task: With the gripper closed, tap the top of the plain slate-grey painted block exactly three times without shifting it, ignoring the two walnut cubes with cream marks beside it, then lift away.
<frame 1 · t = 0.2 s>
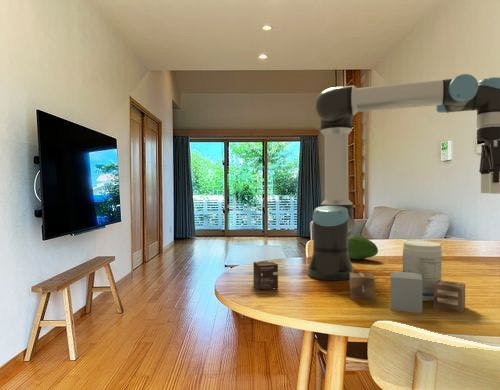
hand: (489, 193, 119), 28 cm above the table, fingers open, 13 cm apart
marked cube left: (361, 297, 100), on the table
fruit: (359, 260, 153), on the table
supplement tub: (421, 297, 100), on the table
plain block: (405, 307, 91), on the table
marked cube right: (449, 308, 90), on the table
box: (265, 288, 110), on the table
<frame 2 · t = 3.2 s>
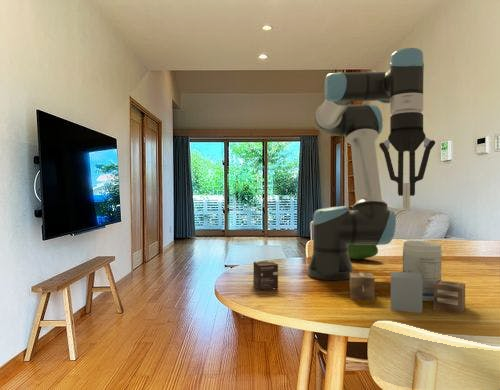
hand: (406, 209, 91), 24 cm above the table, fingers closed
nothing on the table moved.
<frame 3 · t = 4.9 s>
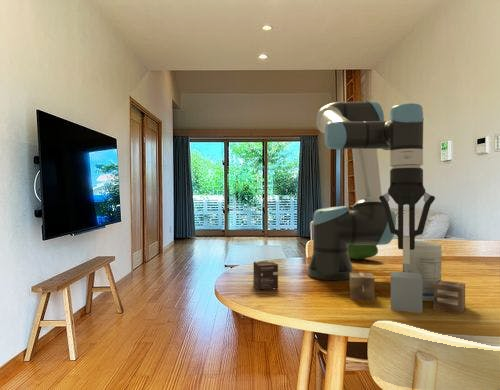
hand: (406, 262, 91), 11 cm above the table, fingers closed
nothing on the table moved.
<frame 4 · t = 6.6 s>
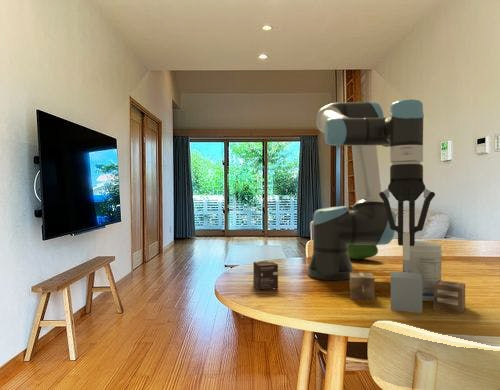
hand: (406, 258, 91), 12 cm above the table, fingers closed
nothing on the table moved.
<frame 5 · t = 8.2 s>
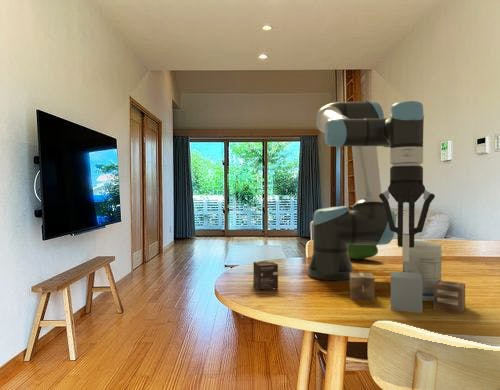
hand: (405, 260, 91), 12 cm above the table, fingers closed
nothing on the table moved.
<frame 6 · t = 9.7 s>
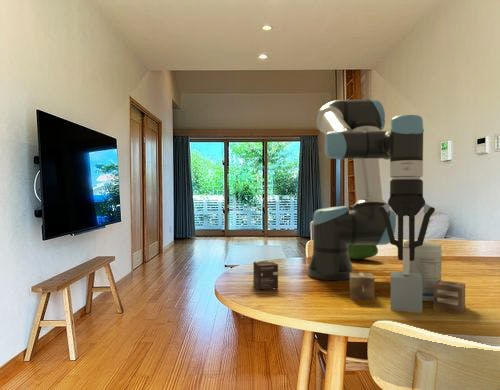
hand: (405, 273, 91), 8 cm above the table, fingers closed
nothing on the table moved.
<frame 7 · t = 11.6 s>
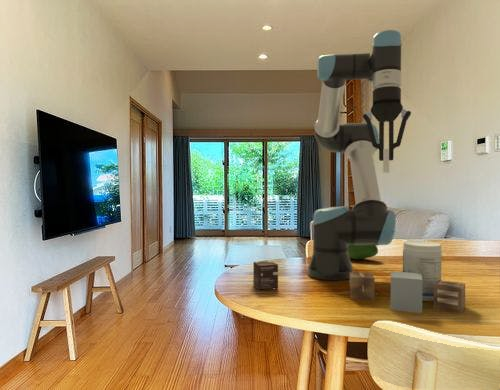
hand: (386, 172, 104), 34 cm above the table, fingers closed
nothing on the table moved.
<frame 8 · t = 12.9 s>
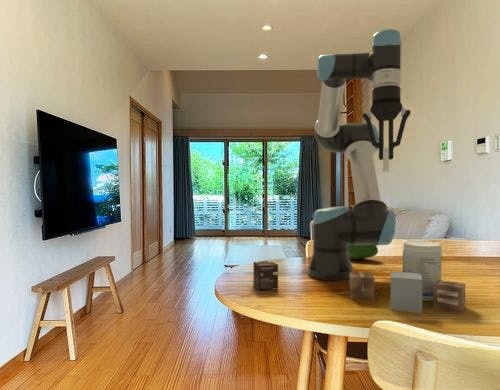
hand: (386, 171, 104), 34 cm above the table, fingers closed
nothing on the table moved.
at the end: plain block moved 0.1 cm from its start; plain block tilted 0°; plain block on the table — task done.
